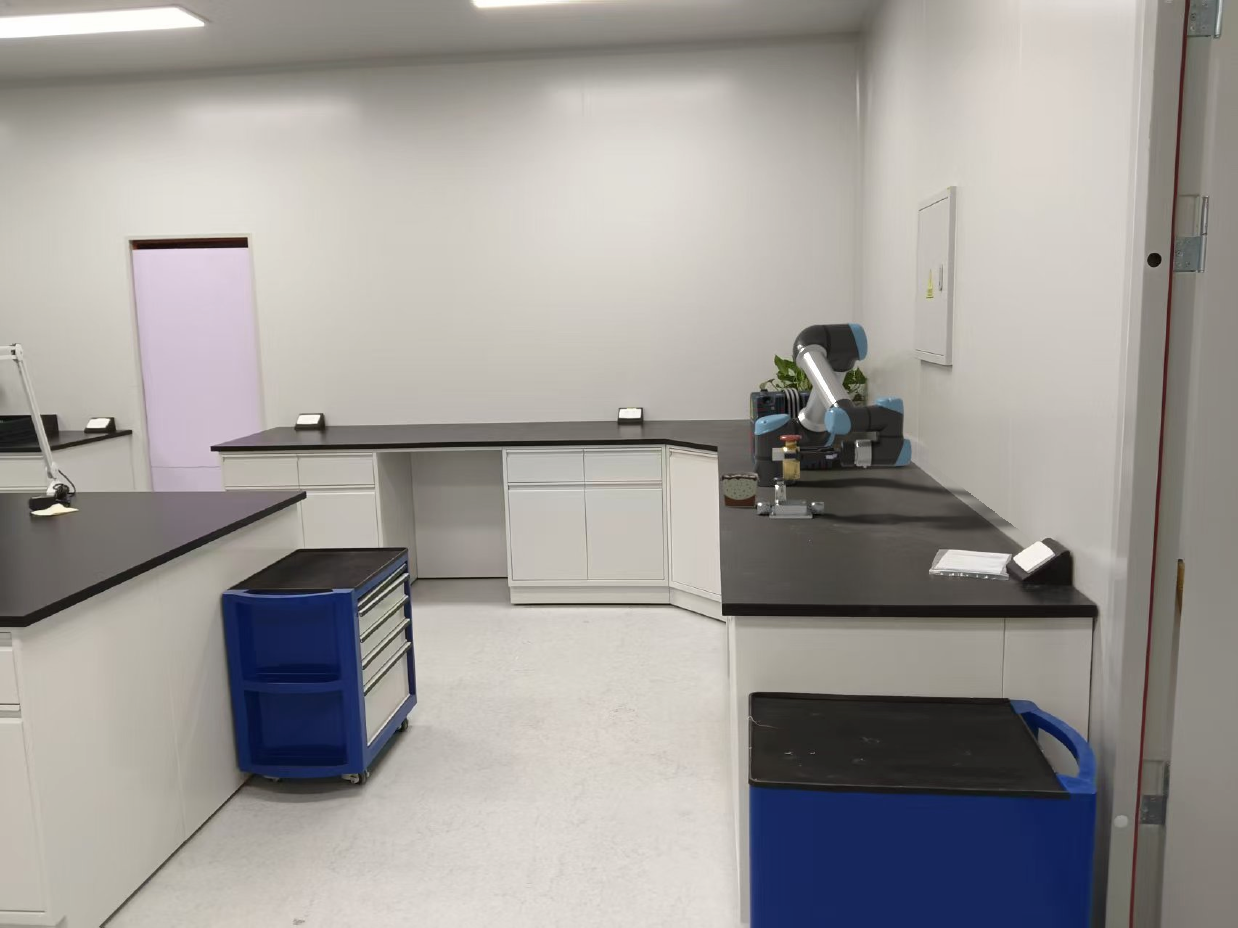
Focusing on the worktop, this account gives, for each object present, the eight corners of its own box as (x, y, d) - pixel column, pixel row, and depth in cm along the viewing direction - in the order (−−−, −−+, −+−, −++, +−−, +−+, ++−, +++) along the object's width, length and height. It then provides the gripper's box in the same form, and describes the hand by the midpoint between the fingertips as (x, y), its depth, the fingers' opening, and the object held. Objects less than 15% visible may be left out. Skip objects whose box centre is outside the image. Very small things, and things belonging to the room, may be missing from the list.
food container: (762, 503, 302) (762, 471, 301) (760, 507, 296) (759, 475, 295) (723, 503, 305) (722, 471, 304) (719, 506, 300) (719, 474, 298)
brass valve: (780, 476, 286) (780, 435, 284) (801, 476, 285) (801, 434, 283) (780, 479, 281) (780, 437, 279) (802, 479, 280) (801, 437, 278)
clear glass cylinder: (774, 504, 300) (773, 476, 299) (787, 504, 299) (786, 476, 298) (773, 506, 296) (773, 479, 295) (787, 506, 295) (786, 478, 294)
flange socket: (758, 510, 292) (757, 498, 292) (823, 509, 289) (823, 498, 288) (756, 518, 280) (756, 506, 280) (824, 518, 277) (824, 505, 277)
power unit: (750, 460, 392) (749, 385, 388) (819, 457, 391) (819, 383, 386) (758, 471, 364) (756, 390, 360) (832, 468, 363) (831, 388, 359)
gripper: (857, 471, 271) (772, 472, 275) (852, 461, 288) (773, 462, 292) (857, 444, 270) (771, 445, 274) (852, 436, 287) (772, 437, 291)
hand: (772, 454), depth 283 cm, fingers closed on brass valve, 5 cm apart
